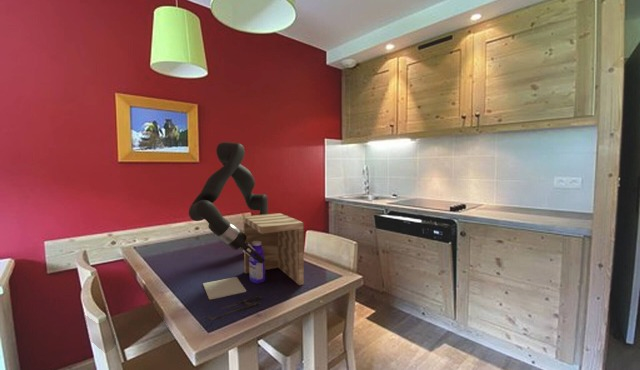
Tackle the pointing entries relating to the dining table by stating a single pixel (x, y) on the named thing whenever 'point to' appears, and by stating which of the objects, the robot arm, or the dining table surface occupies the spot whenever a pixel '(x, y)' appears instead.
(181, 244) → the dining table surface
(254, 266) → the bottle
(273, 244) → the wooden slatted crate
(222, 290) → the mat
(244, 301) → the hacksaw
